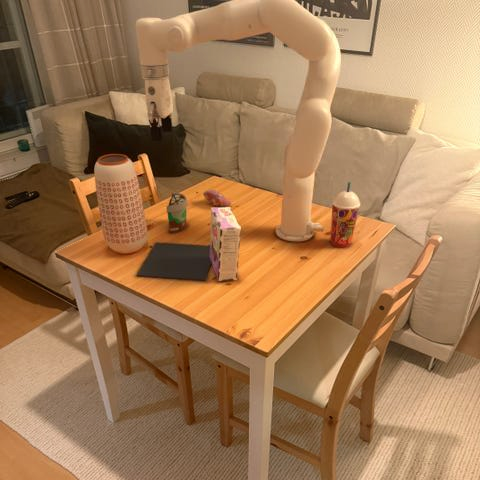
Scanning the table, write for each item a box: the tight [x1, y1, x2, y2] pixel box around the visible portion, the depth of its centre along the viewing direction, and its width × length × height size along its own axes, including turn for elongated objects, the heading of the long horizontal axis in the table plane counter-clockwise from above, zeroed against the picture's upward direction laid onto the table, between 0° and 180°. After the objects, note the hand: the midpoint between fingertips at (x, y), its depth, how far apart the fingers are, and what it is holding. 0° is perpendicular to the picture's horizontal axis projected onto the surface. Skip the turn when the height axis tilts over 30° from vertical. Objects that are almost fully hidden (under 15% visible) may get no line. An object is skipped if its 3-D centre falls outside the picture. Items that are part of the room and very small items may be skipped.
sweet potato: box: [203, 188, 231, 207], centre depth 169 cm, size 10×5×7 cm, turn 47°
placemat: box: [136, 242, 212, 282], centre depth 137 cm, size 20×20×1 cm
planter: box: [93, 153, 148, 255], centre depth 135 cm, size 13×13×28 cm
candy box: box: [209, 206, 242, 282], centre depth 128 cm, size 14×6×16 cm, turn 13°
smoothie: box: [330, 181, 361, 248], centre depth 140 cm, size 8×8×20 cm
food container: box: [166, 191, 189, 234], centre depth 153 cm, size 12×6×10 cm, turn 179°
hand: (162, 136), depth 135 cm, fingers open, 9 cm apart
